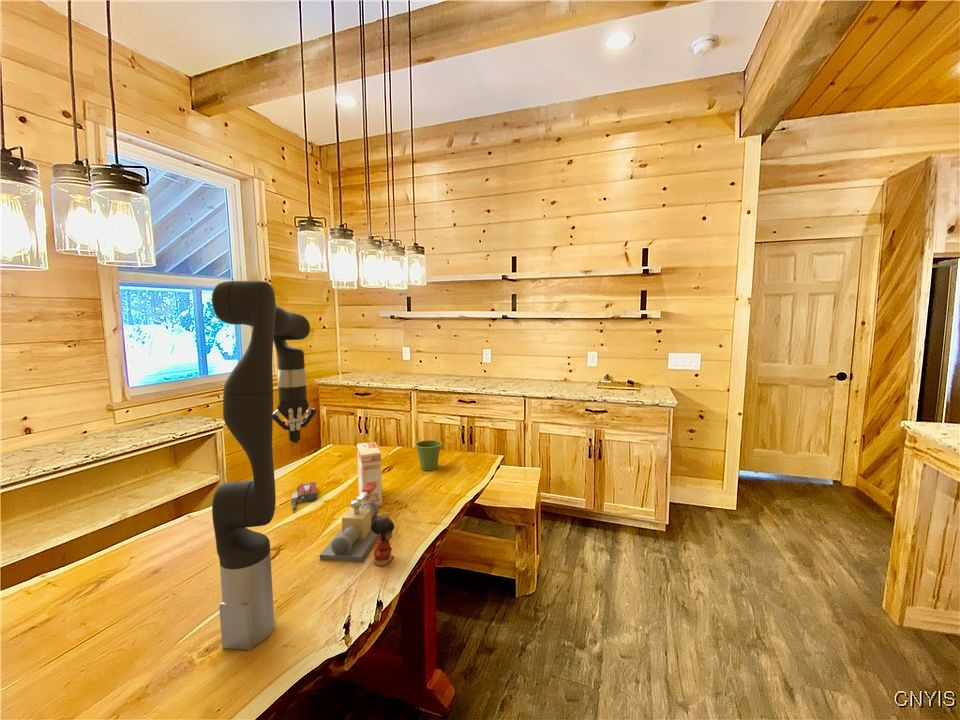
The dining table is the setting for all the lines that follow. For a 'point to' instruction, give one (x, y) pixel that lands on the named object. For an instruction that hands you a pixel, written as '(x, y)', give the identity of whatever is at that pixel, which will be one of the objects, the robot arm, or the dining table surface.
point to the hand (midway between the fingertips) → (294, 442)
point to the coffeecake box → (369, 470)
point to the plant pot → (428, 453)
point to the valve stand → (354, 535)
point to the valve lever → (363, 494)
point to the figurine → (382, 541)
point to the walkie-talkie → (304, 493)
